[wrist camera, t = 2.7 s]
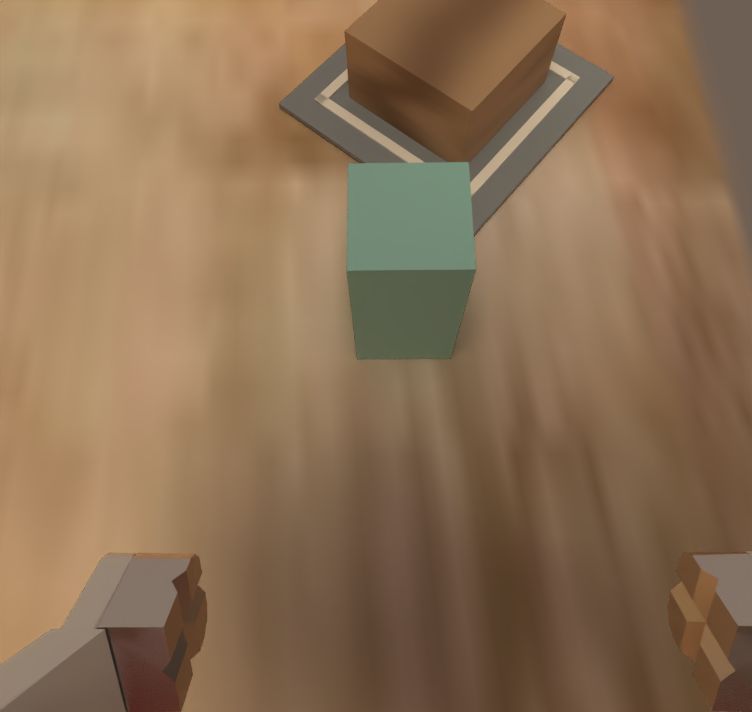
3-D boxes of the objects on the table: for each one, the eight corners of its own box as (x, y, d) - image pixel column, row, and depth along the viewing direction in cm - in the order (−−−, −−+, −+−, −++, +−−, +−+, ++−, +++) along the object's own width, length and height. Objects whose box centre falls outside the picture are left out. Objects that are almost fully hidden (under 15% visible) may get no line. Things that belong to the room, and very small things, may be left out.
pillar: (357, 359, 27) (346, 270, 19) (357, 276, 28) (347, 163, 21) (450, 358, 27) (475, 269, 19) (446, 275, 28) (468, 161, 21)
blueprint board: (279, 107, 32) (278, 101, 31) (426, -27, 35) (427, -33, 34) (471, 239, 29) (472, 234, 29) (612, 80, 32) (614, 74, 32)
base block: (349, 97, 32) (344, 31, 28) (435, 16, 33) (441, -57, 30) (461, 171, 30) (472, 111, 26) (544, 81, 32) (566, 13, 28)
